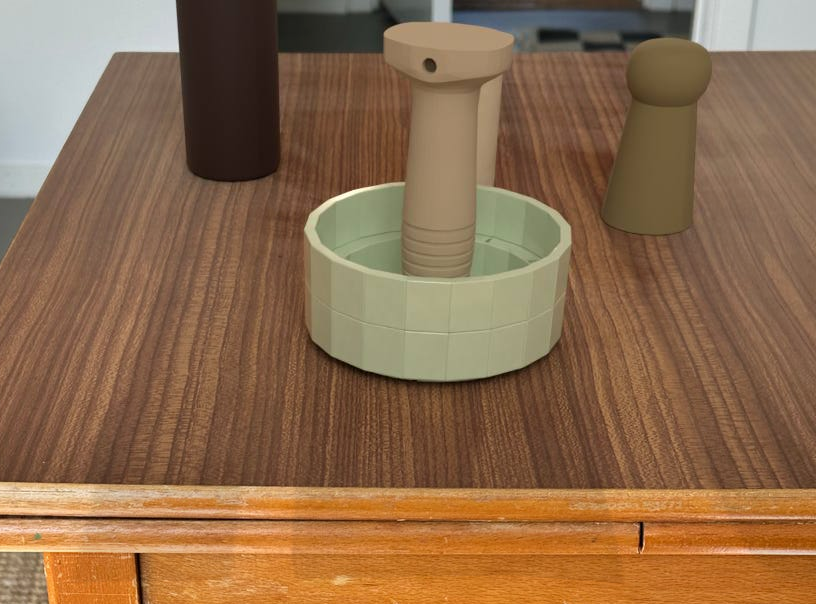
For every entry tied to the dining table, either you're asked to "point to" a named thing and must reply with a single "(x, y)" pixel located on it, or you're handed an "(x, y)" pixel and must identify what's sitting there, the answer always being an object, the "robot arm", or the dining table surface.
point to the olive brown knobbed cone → (658, 139)
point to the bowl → (435, 288)
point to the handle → (443, 138)
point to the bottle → (230, 87)
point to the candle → (488, 130)
